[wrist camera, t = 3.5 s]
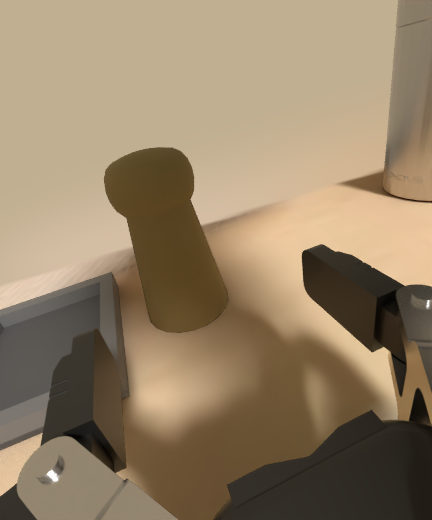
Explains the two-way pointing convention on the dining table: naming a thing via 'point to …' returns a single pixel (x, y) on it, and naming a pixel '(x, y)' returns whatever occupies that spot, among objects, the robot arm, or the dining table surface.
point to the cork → (167, 238)
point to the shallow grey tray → (51, 349)
